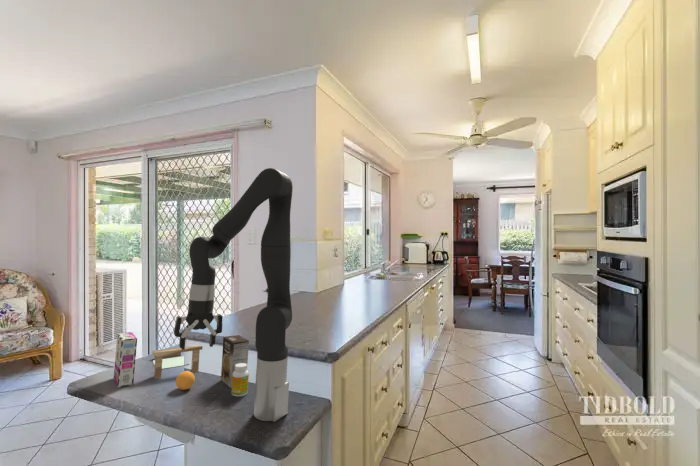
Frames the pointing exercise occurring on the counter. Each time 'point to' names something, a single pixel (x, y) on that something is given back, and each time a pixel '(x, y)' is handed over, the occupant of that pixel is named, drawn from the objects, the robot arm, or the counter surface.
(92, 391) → the counter surface
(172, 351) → the bridge
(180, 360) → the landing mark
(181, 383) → the ball
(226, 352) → the coffee box
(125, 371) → the candy bar box
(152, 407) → the counter surface
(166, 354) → the stopper
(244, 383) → the supplement bottle
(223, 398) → the counter surface
